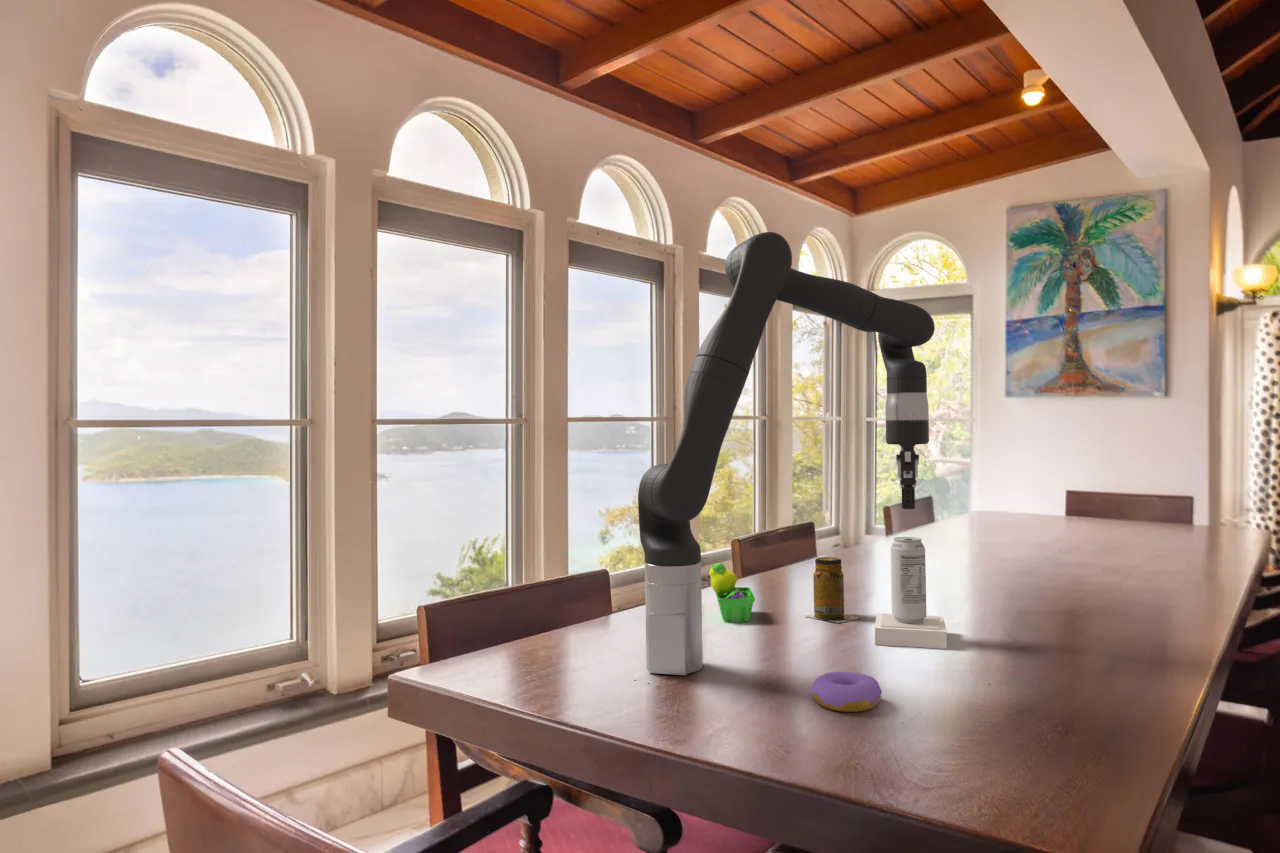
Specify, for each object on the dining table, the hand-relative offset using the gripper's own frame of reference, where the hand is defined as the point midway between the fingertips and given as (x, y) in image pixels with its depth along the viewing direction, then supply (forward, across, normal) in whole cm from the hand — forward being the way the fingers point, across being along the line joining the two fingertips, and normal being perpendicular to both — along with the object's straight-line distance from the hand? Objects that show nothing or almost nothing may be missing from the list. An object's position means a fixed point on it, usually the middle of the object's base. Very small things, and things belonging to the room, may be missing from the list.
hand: (908, 506), depth 152 cm
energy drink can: (+21, 0, 0) cm, 21 cm away
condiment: (+24, +14, +15) cm, 32 cm away
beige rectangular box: (+24, 0, 0) cm, 24 cm away
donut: (+25, -39, +9) cm, 47 cm away
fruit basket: (+24, +10, +35) cm, 44 cm away
